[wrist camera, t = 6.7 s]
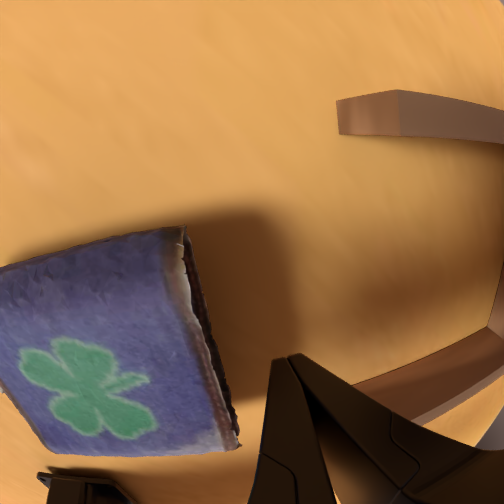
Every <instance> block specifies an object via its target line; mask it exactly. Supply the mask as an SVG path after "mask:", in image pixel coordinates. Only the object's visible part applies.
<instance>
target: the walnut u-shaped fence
mask: <svg viewBox="0 0 504 504" xmlns="http://www.w3.org/2000/svg"><path fill="white" fill-rule="evenodd" d="M336 105H337V115H338V126H339V134H361V135H390V136H415V137H436V138H451V139H463V140H474V141H483V142H492V143H500V144H504V111H503V110H499V109H495V108H492V107H488V106H484V105H480V104H476V103H472V102H467V101H463V100H458V99H453V98H448V97H443V96H437V95H431V94H425V93H419V92H412V91H404V90H390V91H384V92H379V93H373V94H367V95H362V96H357V97H352V98H347V99H343V100H338V101H336ZM503 374H504V264H503V269H502V273H501V278H500V282H499V286H498V290H497V294H496V298H495V302H494V305H493V309H492V312H491V316H490V319H489V322H488V325H487V327H485V328H484V329H482V330H480V331H478V332H476V333H474V334H473V335H471V336H469V337H467V338H465V339H463V340H461V341H459V342H457V343H455V344H453V345H451V346H449V347H447V348H445V349H443V350H440V351H438V352H436V353H434V354H432V355H430V356H427V357H425V358H423V359H421V360H418V361H416V362H414V363H411V364H409V365H406V366H404V367H402V368H399V369H397V370H394V371H391V372H389V373H386V374H384V375H381V376H378V377H376V378H373V379H370V380H367V381H364V382H361V383H359V384H356V385H353V387H355V388H356V389H358V390H360V391H361V392H363V393H364V394H366V395H368V396H369V397H371V398H373V399H374V400H376V401H377V402H379V403H381V404H382V405H384V406H386V407H387V408H389V409H391V410H392V412H393V411H394V412H396V413H398V414H400V415H401V416H403V417H405V418H407V419H408V420H410V421H412V422H414V423H416V424H418V425H420V426H422V425H424V424H426V423H428V422H430V421H432V420H433V419H435V418H437V417H439V416H441V415H442V414H444V413H446V412H448V411H449V410H451V409H453V408H454V407H456V406H458V405H459V404H461V403H463V402H464V401H466V400H467V399H469V398H470V397H472V396H473V395H475V394H477V393H478V392H480V391H481V390H482V389H484V388H485V387H487V386H488V385H490V384H491V383H493V382H494V381H495V380H497V379H498V378H499V377H501V376H502V375H503Z"/></svg>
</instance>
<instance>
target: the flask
mask: <svg viewBox="0 0 504 504" xmlns="http://www.w3.org/2000/svg"><path fill="white" fill-rule="evenodd" d="M186 228H187V227H186V226H185V225H183V226H178V227H162V228H159V229H154V230H148V231H141V232H133V233H128V234H125V235H122V236H112V237H109V238H106V239H102V240H97V241H94V242H91V243H88V244H84V245H78V246H74V247H71V248H69V249H67V250H63V251H59V252H55V253H51V254H46V255H42V256H38V257H35V258H32V259H29V260H26V261H22V262H18V263H14V264H10V265H7V266H4V267H0V392H1V393H5V394H6V395H7V396H8V398H9V399H10V400H11V401H12V403H13V404H14V405H15V407H16V408H17V409H18V410H19V412H20V414H21V415H22V416H23V417H24V419H25V420H26V421H27V422H28V424H29V425H30V427H31V429H32V431H33V432H34V433H35V434H36V435H37V436H38V438H39V440H40V441H41V443H42V444H43V445H44V446H45V447H46V448H47V449H48V450H49V451H51V452H53V453H55V454H76V455H85V456H123V457H143V456H179V455H191V454H205V453H209V452H217V451H223V452H227V451H231V450H235V449H237V448H238V447H240V446H242V444H240V443H239V442H238V441H237V440H238V438H237V437H236V436H238V435H239V432H240V429H239V425H238V423H237V417H238V416H237V415H236V413H235V411H236V410H235V409H234V408H233V407H232V405H231V392H230V388H229V386H228V385H227V383H226V379H225V378H224V377H225V373H224V369H223V365H222V363H221V359H220V356H219V352H218V347H217V345H216V343H215V341H214V339H212V335H211V323H210V321H209V311H208V307H207V303H206V300H205V298H204V294H203V293H202V291H203V290H202V286H201V281H200V277H199V273H198V269H197V265H196V261H195V257H194V252H193V247H192V243H191V239H190V237H189V236H188V235H187V233H186ZM235 433H236V434H235Z"/></svg>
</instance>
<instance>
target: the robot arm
mask: <svg viewBox="0 0 504 504" xmlns="http://www.w3.org/2000/svg"><path fill="white" fill-rule="evenodd" d="M259 453H260V454H259V456H258V462H257V468H256V473H255V478H254V483H253V487H252V490H251V493H250V497H249V500H248V503H247V504H337V502H336V498H335V495H334V491H335V493H336V495H337V497H338V499H339V501H340V503H341V504H504V449H503V450H483V449H478V448H475V447H472V446H469V445H466V444H464V443H461V442H458V441H456V440H453V439H450V438H448V437H445V436H443V435H440V434H438V433H435V432H433V431H431V430H429V429H426V428H424V427H422V426H420V425H418V424H416V423H414V422H412V421H410V420H408V419H407V418H405V417H403V416H401V415H400V414H398V413H396V412H394V411H393V412H392V410H391V409H389V408H387V407H386V406H384V405H382V404H381V403H379V402H377V401H376V400H374V399H373V398H371V397H369V396H368V395H366V394H364V393H363V392H361V391H360V390H358V389H356V388H355V387H353V386H351V385H350V384H348V383H347V382H345V381H344V380H342V379H340V378H339V377H337V376H336V375H334V374H333V373H331V372H329V371H328V370H326V369H325V368H323V367H322V366H320V365H319V364H317V363H316V362H314V361H313V360H311V359H310V358H308V357H306V356H305V355H303V354H302V353H297V354H293V355H289V356H287V358H286V357H280V358H276V359H273V360H272V361H271V368H270V376H269V384H268V392H267V400H266V407H265V415H264V422H263V429H262V436H261V443H260V450H259ZM37 479H38V480H40V481H41V482H42V483H43V484H44V485H45V486H46V487H48V488H49V491H48V496H47V502H46V504H138V503H137V502H136V501H135V500H134V499H132V498H131V497H130V496H129V495H128V494H127V493H126V492H125V491H124V490H123V489H122V488H121V487H120V486H119V485H118V484H117V483H116V482H115V481H113V480H110V479H98V478H84V477H73V476H64V475H57V474H50V473H43V472H38V473H37ZM332 487H333V488H332ZM333 489H334V491H333Z"/></svg>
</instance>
